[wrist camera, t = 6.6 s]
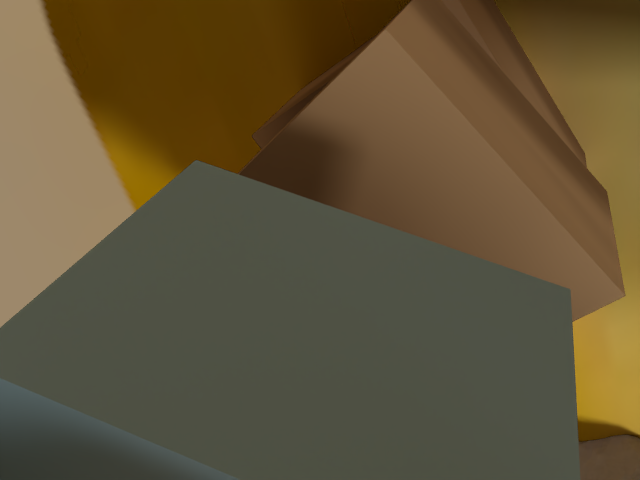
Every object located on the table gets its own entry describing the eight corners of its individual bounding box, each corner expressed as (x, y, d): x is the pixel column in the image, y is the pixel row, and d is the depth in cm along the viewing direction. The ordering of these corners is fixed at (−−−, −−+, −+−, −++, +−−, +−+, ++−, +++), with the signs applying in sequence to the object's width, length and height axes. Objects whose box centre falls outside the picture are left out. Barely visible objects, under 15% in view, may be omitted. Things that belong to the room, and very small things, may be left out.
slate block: (571, 289, 7) (588, 627, 4) (442, 513, 10) (393, 815, 7) (195, 159, 8) (-41, 362, 5) (173, 403, 11) (16, 631, 8)
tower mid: (427, -16, 13) (385, 28, 9) (606, 191, 14) (625, 295, 10) (254, 156, 16) (180, 232, 13) (409, 311, 17) (376, 418, 14)
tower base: (473, -36, 16) (453, -8, 12) (584, 151, 17) (593, 219, 14) (301, 88, 19) (251, 136, 16) (409, 236, 20) (383, 308, 17)
